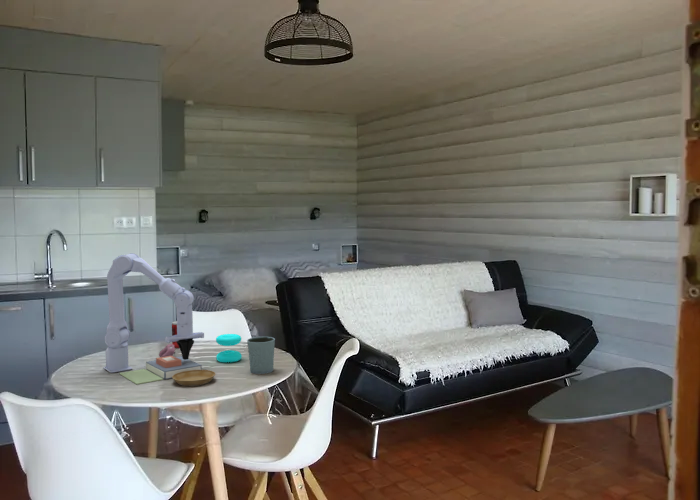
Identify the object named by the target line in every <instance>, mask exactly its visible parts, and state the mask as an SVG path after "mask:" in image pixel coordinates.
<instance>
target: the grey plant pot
mask: <svg viewBox="0 0 700 500" xmlns="http://www.w3.org/2000/svg"><path fill="white" fill-rule="evenodd" d="M275 340H276V338H274V337H272V336H256V337H255V336H254V337H250V338H248V339H247V340H246V341H247V342H246V343H247V347H248V348H247V350H248V358H249V359H248V360H249V367H250V368H249V370H250V371H249V372H250V373H252V374H256V375H263V374H265V373H266V374H271V373H272V372H274V363H275V358H274V357H275V356H274V355H275V345H276V343H275V342H276V341H275Z"/></svg>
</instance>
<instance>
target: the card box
mask: <svg viewBox="0 0 700 500" xmlns="http://www.w3.org/2000/svg"><path fill="white" fill-rule="evenodd" d="M176 357H177V356H174V355H173V356H166V357H160V356H159V357H156V358H155V360H156V364H158V365H160V366H162V367H165V368H169V367H175V366H181V360H180V359H178V358H176Z"/></svg>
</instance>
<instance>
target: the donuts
mask: <svg viewBox="0 0 700 500" xmlns="http://www.w3.org/2000/svg"><path fill="white" fill-rule="evenodd" d="M215 342H216V343H217V344H218V345H220V346H224V347H230V346H231V347H232V346H236V345H238V344H240V343H241V342H242V337H241V335H240V334H236V333H224V334H220V335H218V336H216V338H215ZM215 357H216V360H217V361H218V362H219V363H226V364H227V362H228V363H229V362H230V363H236V362H238V361H241V359H242V358H243V357H242V353H241V352H240V351H238V350H234V349H226V350H222V351H220V352H218V353H217V354H216V356H215Z"/></svg>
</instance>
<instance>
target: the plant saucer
mask: <svg viewBox="0 0 700 500" xmlns="http://www.w3.org/2000/svg"><path fill="white" fill-rule="evenodd" d="M216 375H217V373H216V372H215V371H213V370H209V369H202V370H189V371H183V372H179V373H176V374H174V375H173V376H172V378H171V379H173V381H174V382H175V383H177V384H178V385H180V386H185V387H195V386H196V387H197V386H202V385H205V384H208V383H210V382H211V381H212V380H213V379H214V378H215V376H216Z"/></svg>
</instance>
